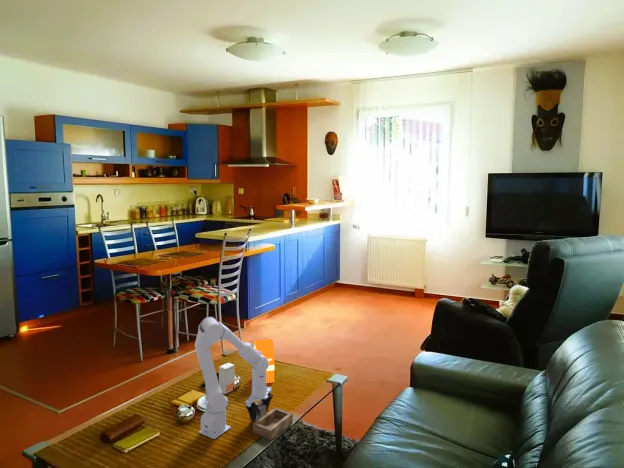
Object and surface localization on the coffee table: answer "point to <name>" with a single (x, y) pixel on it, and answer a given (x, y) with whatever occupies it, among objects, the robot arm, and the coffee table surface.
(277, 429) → the well block
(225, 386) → the skincare box
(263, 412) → the bracket
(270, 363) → the orange juice
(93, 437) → the coffee table surface
